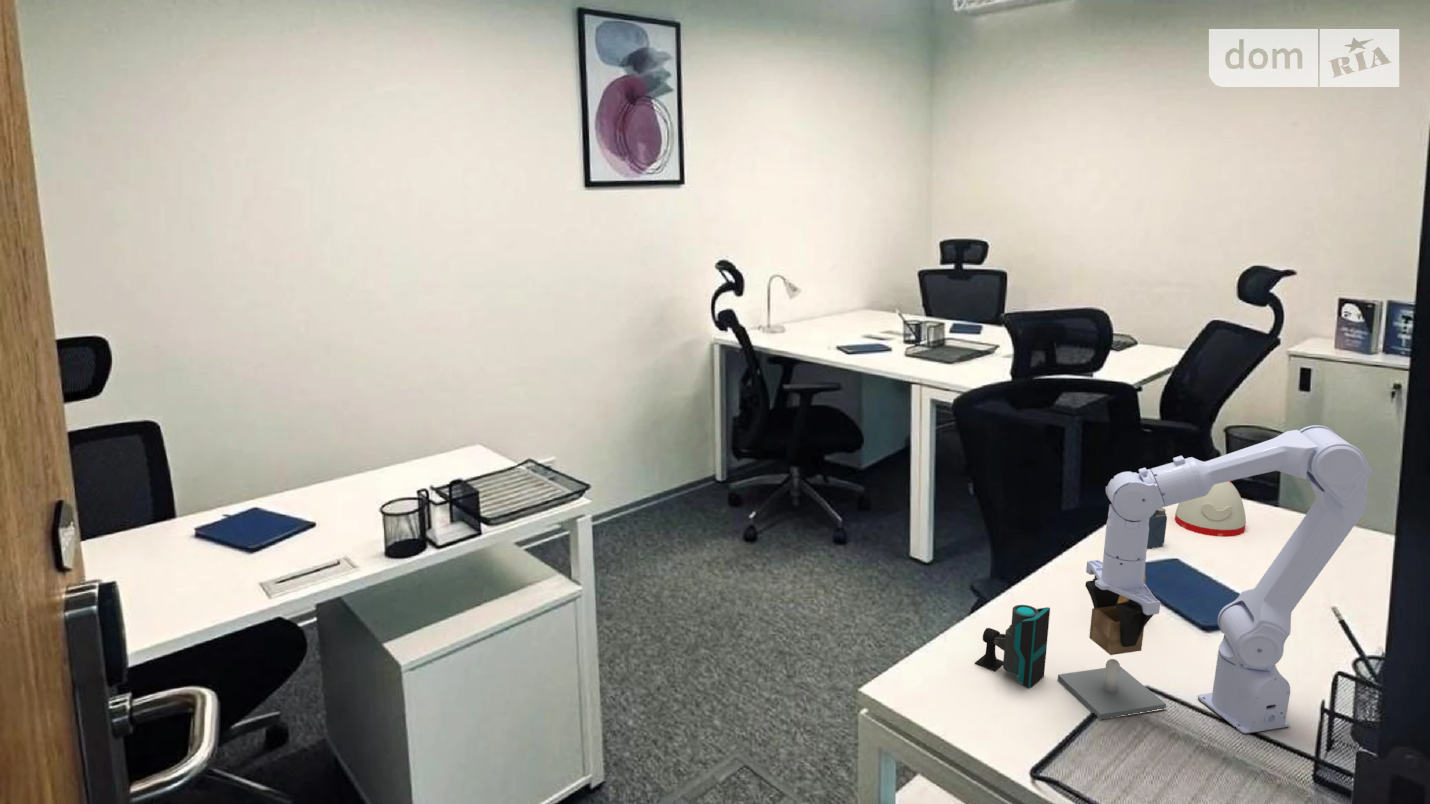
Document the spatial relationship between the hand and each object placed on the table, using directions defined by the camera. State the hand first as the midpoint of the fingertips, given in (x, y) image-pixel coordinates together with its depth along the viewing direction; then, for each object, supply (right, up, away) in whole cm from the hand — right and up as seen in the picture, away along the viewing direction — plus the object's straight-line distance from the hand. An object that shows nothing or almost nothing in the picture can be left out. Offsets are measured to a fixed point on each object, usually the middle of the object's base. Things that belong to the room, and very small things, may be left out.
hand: (1116, 635), depth 137 cm
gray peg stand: (0, -10, +3) cm, 10 cm away
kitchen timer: (+50, +8, +66) cm, 84 cm away
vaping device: (+32, +5, +56) cm, 65 cm away
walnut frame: (0, -1, 0) cm, 1 cm away
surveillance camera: (-13, -8, +10) cm, 18 cm away
